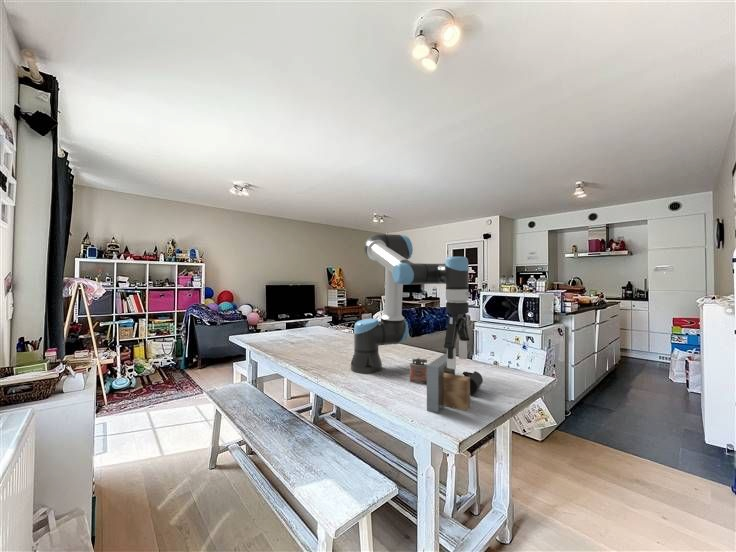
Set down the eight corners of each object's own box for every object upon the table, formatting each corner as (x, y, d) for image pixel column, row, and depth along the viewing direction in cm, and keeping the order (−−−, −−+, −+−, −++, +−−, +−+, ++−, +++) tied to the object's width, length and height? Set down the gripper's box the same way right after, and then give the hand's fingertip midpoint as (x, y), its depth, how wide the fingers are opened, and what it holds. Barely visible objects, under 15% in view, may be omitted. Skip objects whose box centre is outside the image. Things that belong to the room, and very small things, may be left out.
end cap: (477, 397, 114) (477, 379, 114) (457, 394, 118) (457, 376, 118) (482, 389, 123) (482, 372, 123) (464, 385, 126) (464, 369, 126)
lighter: (408, 382, 131) (408, 358, 130) (410, 379, 134) (410, 356, 134) (427, 384, 128) (427, 360, 127) (429, 381, 131) (429, 358, 131)
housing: (425, 410, 104) (425, 365, 104) (443, 392, 119) (443, 353, 119) (438, 413, 101) (438, 367, 101) (454, 395, 116) (454, 355, 116)
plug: (429, 402, 110) (429, 368, 110) (433, 398, 114) (433, 365, 114) (466, 410, 103) (466, 374, 103) (469, 406, 107) (469, 371, 107)
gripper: (457, 305, 94) (457, 374, 94) (477, 299, 115) (477, 356, 115) (433, 303, 98) (434, 371, 98) (456, 298, 119) (457, 354, 119)
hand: (457, 363), depth 107 cm, fingers open, 13 cm apart
